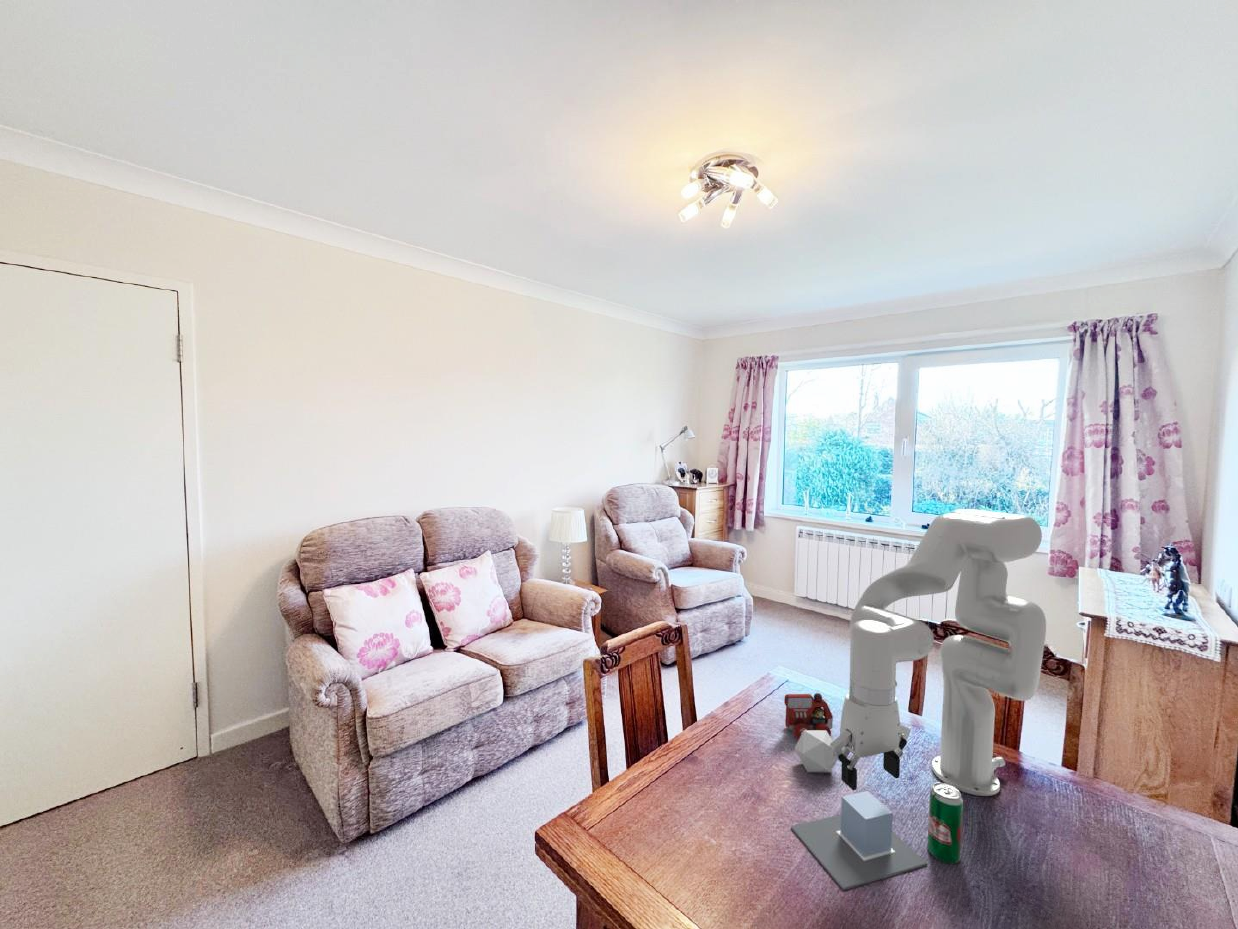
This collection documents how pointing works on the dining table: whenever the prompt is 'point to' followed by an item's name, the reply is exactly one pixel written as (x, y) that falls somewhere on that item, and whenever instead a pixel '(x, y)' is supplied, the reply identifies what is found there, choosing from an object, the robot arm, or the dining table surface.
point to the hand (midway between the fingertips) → (870, 779)
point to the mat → (854, 854)
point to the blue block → (866, 823)
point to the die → (816, 751)
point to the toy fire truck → (807, 713)
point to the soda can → (945, 823)
